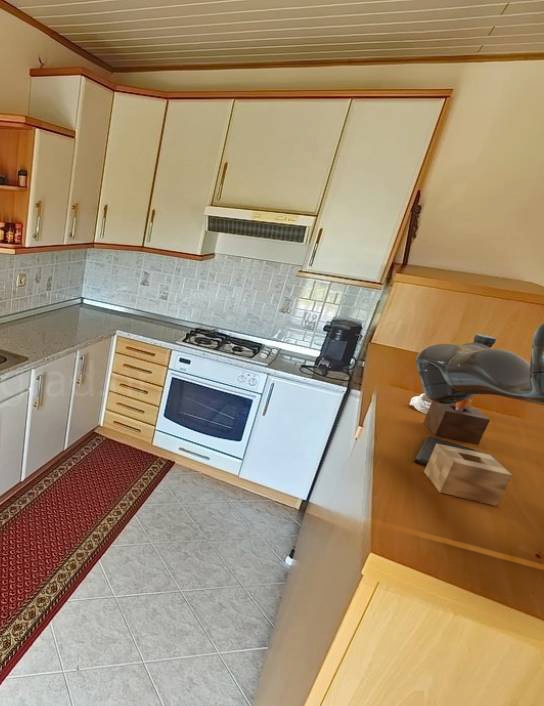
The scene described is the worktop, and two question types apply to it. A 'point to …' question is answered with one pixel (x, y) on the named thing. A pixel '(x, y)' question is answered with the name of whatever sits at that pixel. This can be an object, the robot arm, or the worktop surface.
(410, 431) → the worktop surface
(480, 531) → the worktop surface
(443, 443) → the tablet
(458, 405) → the orange rod
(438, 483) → the stand
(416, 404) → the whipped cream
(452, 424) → the block
